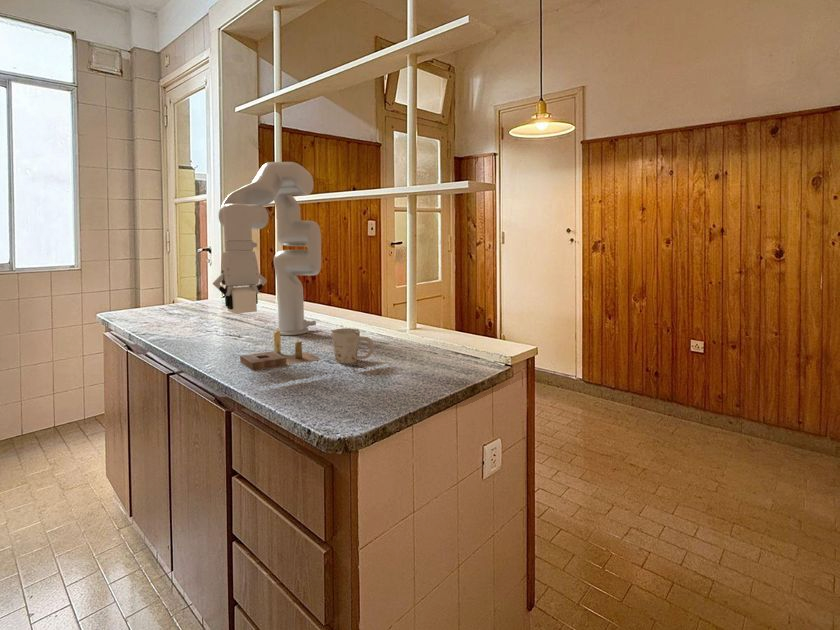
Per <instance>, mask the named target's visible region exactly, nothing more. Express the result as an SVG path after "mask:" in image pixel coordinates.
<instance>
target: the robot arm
mask: <svg viewBox="0 0 840 630" xmlns="http://www.w3.org/2000/svg"><path fill="white" fill-rule="evenodd" d="M314 183H315V182H314V179H313V175H312V174H311V173H310V172H309V170H307V169H306V168H305V167H303V166H302V165H301V164H299V163H296V162H295V161H270V162H269V161H267V162H266V163H264V164H263V165H262V166H261V167H260V168H259V169H258V171H257V174H256V175H255V176H254V178H253V179H252V181H251V183H249V184H245V185H244V186H242V187H240V188H238V189H235V190H234V191H232V192H230V193H229V194H228V195H227V197H225V199H224V200H223V202H222V204H221V206H220V208H219V211H218V221H219V223H220V225H221V226H222V228H223V231H224V251H222V253H221V257H220V258H221V260H220V275H219V276H218V277H217V278H216V279H215V280H214V281H213V283H212V285H213V286H214V287H215V288H216V289H217V290H218V291H219V292H220V293H222V294H223V295H224V300H225V301H224V303H225V307H227V310H228V309H233V302H232V296H231V291H232V289H233V287H241V286H249V287H252V288H256V304H258V302H259V300H258V294H259V293H260V291H261V290H262V289H263V287H264V286H265V284H267V282H268V279H266V278H265V277H264V276H263V275H262V274H261V273H259V272H260V271H259V265H258V260H257V259H258V258H257V255H256V252H255V251H253V250H254V248H257V247H258V244H257V243H258V242H254V241H253V238H252V237H253V232H252V231H253V230H261V229H264V228H265V227H266V226H267V225H268V223H269V218H270V216H269V212H268V209H267V208H265V207H264V206H267V205H269V204H271V203H272V202H274V205H275V207H276V224H277V228H276V229H277V230H276V231H277V239H278V242H279V244H280V245H282V246H284V247H285V246H286V247H306V248H307V249H282V250H279V251H277V252H276V253H275V254H274V256H273V266H274V271H275V276H276V286H277V287H276V289H277V310H278V311H277V313H278V314H277V315H278V327H277V328H274V331H280V336H297V335H304V334H306V333H309V326H311V327H312V326H316V325H317V321H316V320H307V319H305V310H304V309H305V308H304V306H305V305H304V287H303V283H302V282H301V280H300V279H299V277H298V276H317V275H319V274H320V272H321V269H322V233H321V232H322V231H321V229H320V226H319V224H318V222H316V221H313V220H302V218H301V206H300V204H299V202H298V200H296V199H295V197H294V196H309V195H311V194H312V192H313V191H314ZM221 284H222V285H224V286H225V287H223V286H222V285H221Z"/></svg>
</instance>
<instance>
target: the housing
mask: <svg viewBox="0 0 840 630" xmlns="http://www.w3.org/2000/svg"><path fill="white" fill-rule="evenodd" d="M231 296H232V302H233V309H228V308H227V311H228V312H230V313H232V314H234V315H235V314H245V313H246V314H247V313H255V312H256V313H257V311H258V309H257V307H258V305H257V304H256V288H252V287H249V285H247V286H233V289H232V291H231Z"/></svg>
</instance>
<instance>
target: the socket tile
mask: <svg viewBox="0 0 840 630" xmlns="http://www.w3.org/2000/svg"><path fill="white" fill-rule="evenodd" d="M284 356H285V355H282V354H278V353H276V352H274V351H273V350H271V351H265V352H258V353H249V354H244V355H240V356H239V359H240V360H239V361H240V363H241V365H244V366H245V367H247V368H248V369H249V370H251V371H256V370H257V371H258V370H262V369H270V368H275V367H281V366H287V364H288V363H287V359H286V357H284Z"/></svg>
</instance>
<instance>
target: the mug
mask: <svg viewBox="0 0 840 630" xmlns="http://www.w3.org/2000/svg"><path fill="white" fill-rule="evenodd" d="M330 333H331V340H332V345H333V346H332V347H333V352H334V360H335V363H339V364H352V363H356V362H357V360H358V359H359V360H361V359H362V360H365V359H368V358H369V357H371V356H372V354H373V353H374V351H375V343H374V341H373V340H372V339H371V338H370V337H369V336H360V334H361V331H360V330H359V329H358V328H357V329H356V328H335V329H333V330H331V332H330ZM360 341H361V342H367V343H368V345H369V350H368V352H367V353H366V355H358V353H359V352H358V350H359V345H360V344H359V343H360Z"/></svg>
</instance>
